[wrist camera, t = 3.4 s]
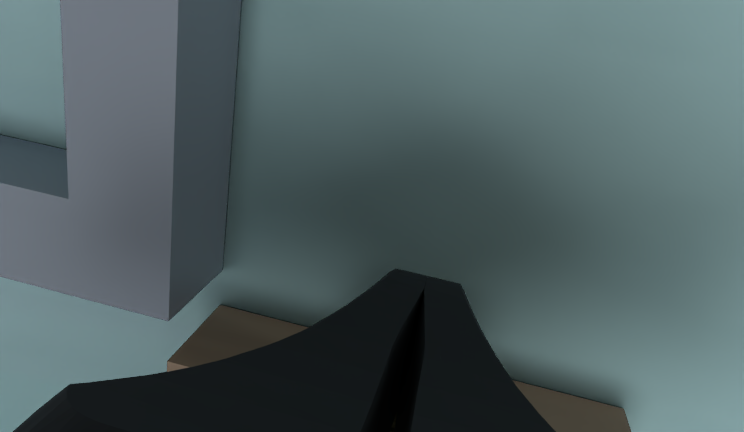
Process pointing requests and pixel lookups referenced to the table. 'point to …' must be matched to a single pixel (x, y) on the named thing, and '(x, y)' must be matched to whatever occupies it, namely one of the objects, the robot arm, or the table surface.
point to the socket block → (251, 331)
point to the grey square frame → (129, 158)
